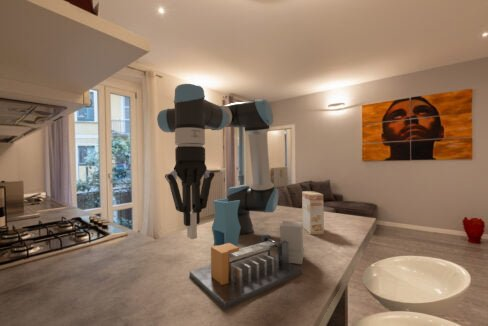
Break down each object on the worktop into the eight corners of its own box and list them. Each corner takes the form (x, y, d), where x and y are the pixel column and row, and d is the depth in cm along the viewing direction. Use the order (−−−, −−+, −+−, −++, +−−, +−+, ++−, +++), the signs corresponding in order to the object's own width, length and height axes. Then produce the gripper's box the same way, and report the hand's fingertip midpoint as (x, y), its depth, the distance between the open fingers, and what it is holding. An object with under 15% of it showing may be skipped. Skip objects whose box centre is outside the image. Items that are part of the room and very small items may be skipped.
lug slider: (211, 276, 63) (211, 246, 63) (228, 270, 67) (228, 242, 67) (222, 285, 58) (221, 253, 58) (240, 278, 62) (240, 248, 62)
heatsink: (189, 276, 66) (189, 247, 67) (259, 253, 83) (259, 231, 84) (225, 310, 51) (224, 272, 51) (302, 273, 67) (301, 245, 68)
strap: (219, 257, 65) (219, 251, 65) (269, 242, 77) (269, 238, 77) (231, 264, 60) (231, 258, 60) (282, 247, 72) (282, 242, 72)
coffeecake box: (324, 234, 106) (324, 194, 106) (309, 234, 106) (309, 194, 107) (315, 226, 121) (314, 191, 121) (302, 226, 121) (301, 191, 122)
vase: (240, 251, 85) (240, 200, 86) (225, 258, 80) (225, 202, 80) (227, 247, 91) (226, 198, 91) (211, 252, 85) (211, 200, 85)
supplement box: (303, 256, 81) (303, 221, 81) (302, 264, 74) (301, 227, 74) (283, 253, 83) (283, 220, 83) (280, 262, 76) (279, 225, 76)
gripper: (170, 144, 50) (172, 248, 50) (219, 146, 58) (221, 235, 58) (160, 146, 56) (161, 239, 56) (206, 147, 64) (207, 229, 64)
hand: (192, 237), depth 57 cm, fingers closed
